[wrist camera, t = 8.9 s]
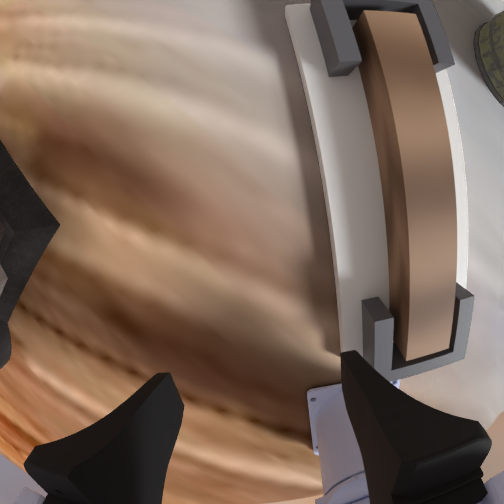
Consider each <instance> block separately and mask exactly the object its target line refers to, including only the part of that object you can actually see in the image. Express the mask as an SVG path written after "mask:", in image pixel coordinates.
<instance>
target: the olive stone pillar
mask: <svg viewBox="0 0 504 504" xmlns="http://www.w3.org/2000/svg"><path fill="white" fill-rule="evenodd" d="M474 49H475V55H476V60H477V63H478V65H479V68H480V71H481V74H482V76H483V78H484V80H485V81H486V83H487V85H488V87H489V89H490V91H491V92H492V93H493V94H494V96H495V97H496V99H497V100H498V101H499V103H501V104H502V105H503V106H504V11H502V12H500V13H499V14H497V15H495V17H494V18H493V20H492V21H490V22H487V23H484V24H482V25H480V26H479V28H478V29H477V31H476V32H475V38H474Z"/></svg>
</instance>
